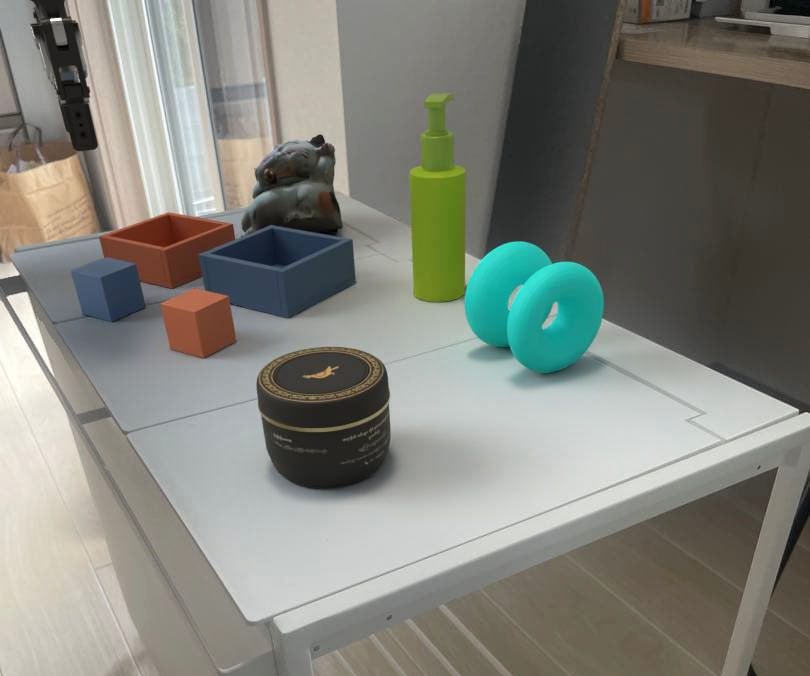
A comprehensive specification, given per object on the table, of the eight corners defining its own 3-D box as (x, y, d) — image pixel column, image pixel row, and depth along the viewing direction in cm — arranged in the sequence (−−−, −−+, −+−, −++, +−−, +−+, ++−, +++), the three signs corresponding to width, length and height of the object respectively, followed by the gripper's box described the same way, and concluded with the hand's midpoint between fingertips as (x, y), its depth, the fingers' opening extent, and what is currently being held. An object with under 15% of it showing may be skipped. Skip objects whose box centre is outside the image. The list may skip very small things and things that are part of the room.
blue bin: (206, 298, 97) (198, 254, 94) (276, 266, 105) (271, 224, 102) (288, 318, 91) (282, 271, 88) (356, 282, 99) (352, 238, 96)
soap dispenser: (471, 281, 98) (473, 90, 86) (458, 303, 93) (458, 102, 81) (423, 279, 99) (418, 89, 87) (407, 300, 94) (400, 101, 82)
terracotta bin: (107, 273, 105) (98, 236, 103) (175, 247, 113) (168, 211, 110) (172, 288, 100) (164, 250, 97) (239, 260, 108) (233, 223, 105)
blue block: (82, 314, 94) (70, 270, 92) (116, 299, 98) (106, 256, 95) (111, 322, 92) (100, 277, 89) (146, 307, 95) (136, 263, 92)
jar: (416, 445, 68) (413, 358, 64) (348, 507, 61) (339, 414, 57) (316, 419, 72) (306, 335, 68) (242, 474, 66) (225, 385, 61)
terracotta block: (169, 348, 86) (160, 303, 83) (203, 332, 89) (194, 287, 86) (203, 358, 84) (194, 312, 81) (236, 341, 87) (229, 295, 84)
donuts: (540, 328, 86) (546, 229, 80) (604, 362, 79) (616, 256, 73) (458, 351, 83) (458, 248, 77) (517, 389, 76) (522, 280, 70)
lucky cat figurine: (222, 243, 113) (216, 134, 111) (286, 256, 123) (281, 156, 121) (302, 223, 104) (296, 105, 102) (364, 239, 113) (360, 131, 112)
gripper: (-18, -69, 74) (37, 131, 84) (-18, -69, 63) (44, 161, 73) (71, -73, 76) (114, 123, 86) (85, -73, 65) (132, 151, 75)
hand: (82, 140), depth 79 cm, fingers open, 8 cm apart
